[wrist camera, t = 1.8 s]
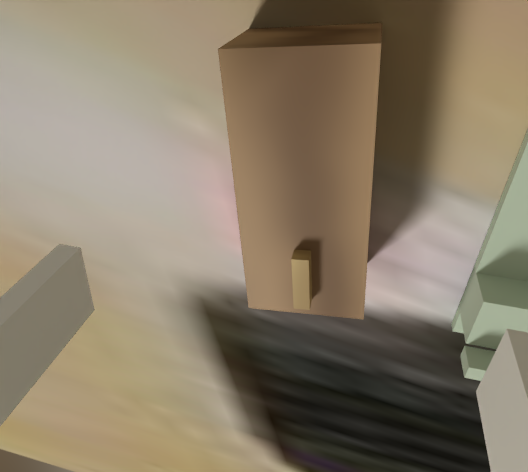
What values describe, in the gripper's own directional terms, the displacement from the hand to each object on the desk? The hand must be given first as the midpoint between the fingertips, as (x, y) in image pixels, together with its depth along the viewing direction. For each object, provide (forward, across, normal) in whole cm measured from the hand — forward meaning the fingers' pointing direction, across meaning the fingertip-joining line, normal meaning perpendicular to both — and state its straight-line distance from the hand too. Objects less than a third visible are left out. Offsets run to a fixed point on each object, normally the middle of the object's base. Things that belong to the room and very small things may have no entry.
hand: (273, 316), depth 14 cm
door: (+12, 0, 0) cm, 12 cm away
